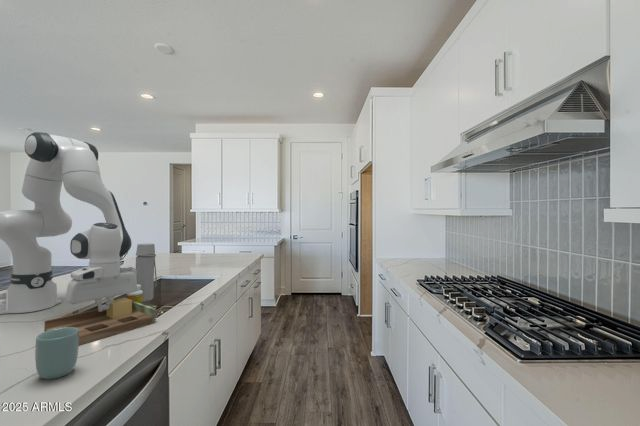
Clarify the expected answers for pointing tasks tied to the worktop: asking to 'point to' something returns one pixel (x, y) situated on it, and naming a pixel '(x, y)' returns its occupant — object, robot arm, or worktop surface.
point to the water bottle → (146, 269)
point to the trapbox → (103, 322)
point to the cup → (56, 352)
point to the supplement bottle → (136, 295)
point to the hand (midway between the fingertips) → (103, 310)
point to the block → (119, 308)
